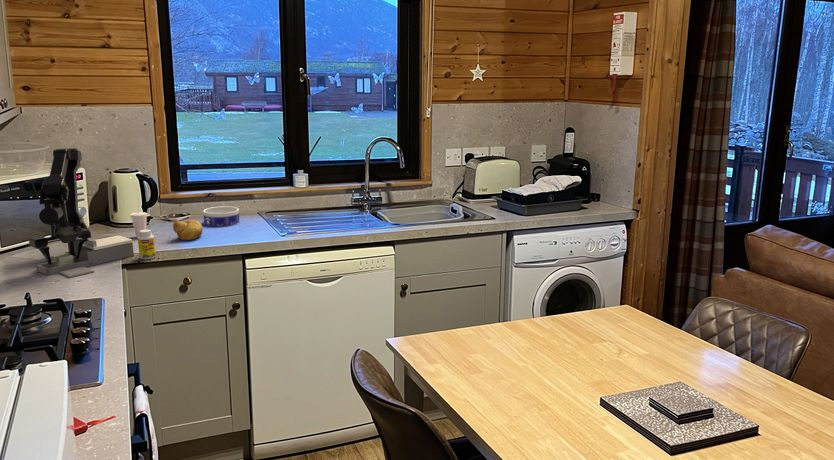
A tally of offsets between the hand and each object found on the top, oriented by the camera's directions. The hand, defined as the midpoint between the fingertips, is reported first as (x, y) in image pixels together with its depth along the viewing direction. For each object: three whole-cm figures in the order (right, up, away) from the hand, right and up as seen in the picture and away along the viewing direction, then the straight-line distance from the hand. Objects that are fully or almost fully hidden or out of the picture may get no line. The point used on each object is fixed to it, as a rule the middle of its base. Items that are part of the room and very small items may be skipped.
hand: (64, 261), depth 238 cm
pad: (+7, -4, -5) cm, 10 cm away
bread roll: (+31, +8, +41) cm, 52 cm away
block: (0, -2, +1) cm, 2 cm away
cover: (+10, +6, +11) cm, 16 cm away
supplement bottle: (+25, +1, +12) cm, 27 cm away
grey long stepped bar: (+5, -1, +6) cm, 8 cm away
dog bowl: (+36, +14, +66) cm, 77 cm away
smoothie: (+10, +8, +42) cm, 44 cm away
